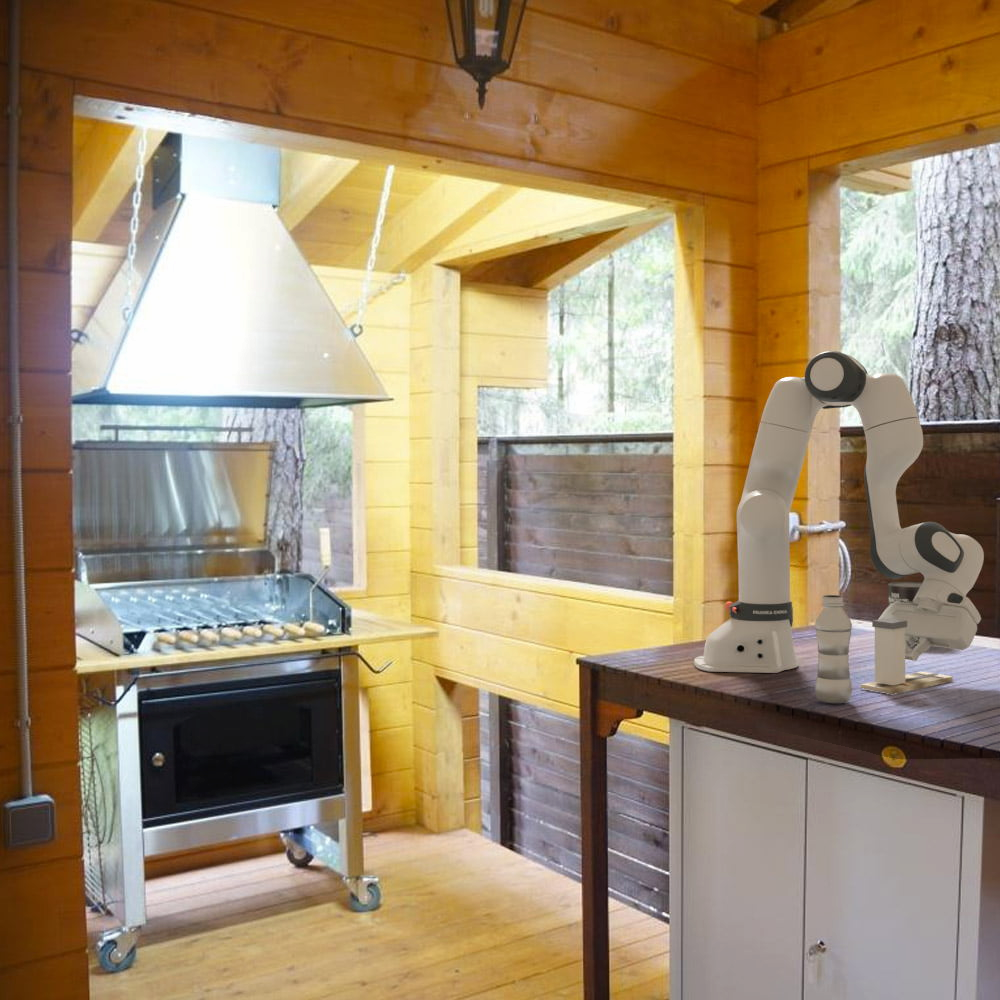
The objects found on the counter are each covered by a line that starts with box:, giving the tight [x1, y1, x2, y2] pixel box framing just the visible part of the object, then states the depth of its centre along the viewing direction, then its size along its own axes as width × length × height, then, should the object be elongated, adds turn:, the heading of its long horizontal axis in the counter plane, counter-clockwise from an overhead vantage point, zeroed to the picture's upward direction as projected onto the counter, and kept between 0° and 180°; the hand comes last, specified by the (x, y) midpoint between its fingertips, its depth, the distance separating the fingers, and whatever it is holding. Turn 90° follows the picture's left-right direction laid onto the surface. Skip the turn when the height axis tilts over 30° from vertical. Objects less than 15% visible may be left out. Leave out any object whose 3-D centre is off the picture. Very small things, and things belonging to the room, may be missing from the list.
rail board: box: [860, 671, 954, 695], centre depth 222 cm, size 20×7×1 cm, turn 125°
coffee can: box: [887, 581, 923, 606], centre depth 272 cm, size 10×10×14 cm
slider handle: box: [871, 618, 907, 685], centre depth 218 cm, size 5×5×12 cm
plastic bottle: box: [814, 594, 853, 704], centre depth 207 cm, size 6×7×20 cm
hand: (907, 658), depth 221 cm, fingers closed
